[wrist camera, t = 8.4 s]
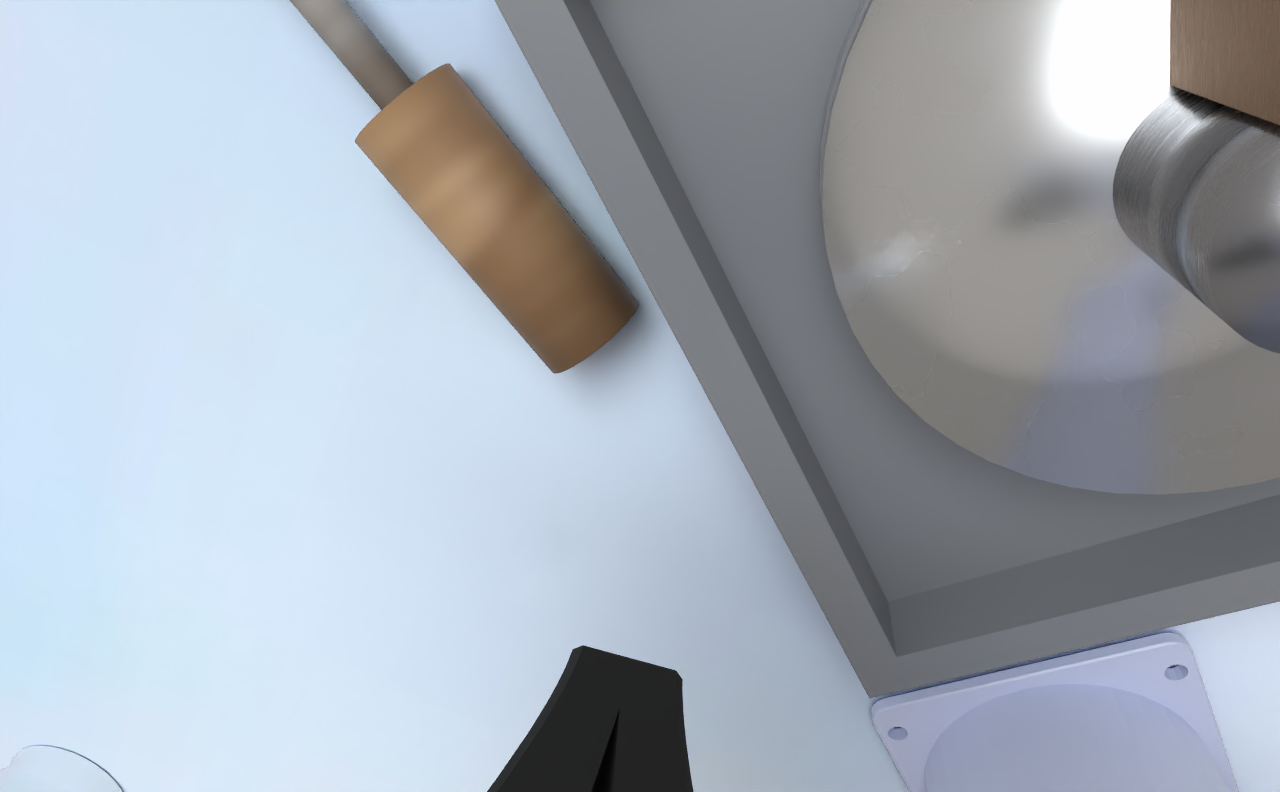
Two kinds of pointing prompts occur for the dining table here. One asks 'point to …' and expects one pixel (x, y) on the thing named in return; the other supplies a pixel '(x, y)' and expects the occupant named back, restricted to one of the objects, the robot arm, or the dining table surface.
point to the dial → (1067, 231)
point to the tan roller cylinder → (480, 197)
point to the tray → (851, 362)
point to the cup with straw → (54, 772)
